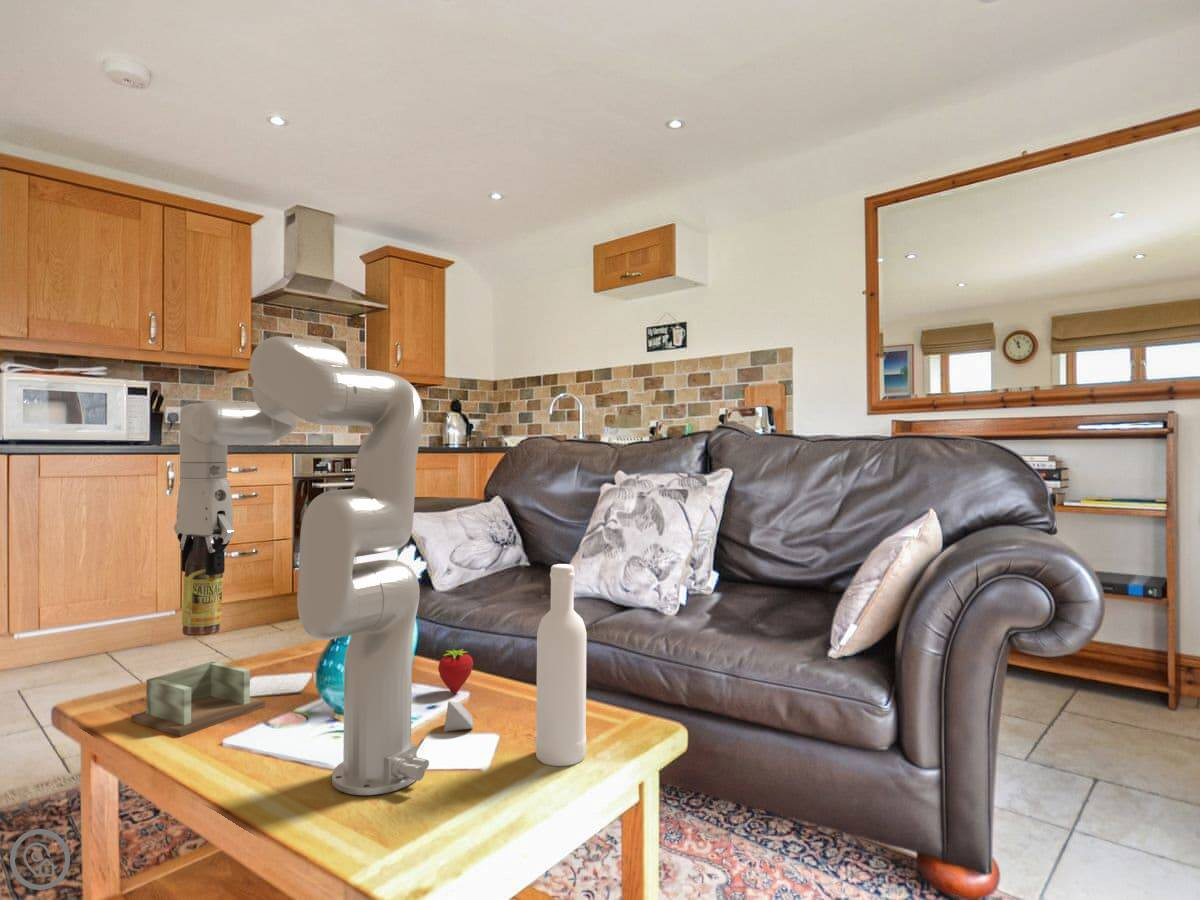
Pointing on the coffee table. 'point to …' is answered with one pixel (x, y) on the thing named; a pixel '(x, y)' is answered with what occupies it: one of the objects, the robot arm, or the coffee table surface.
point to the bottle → (561, 676)
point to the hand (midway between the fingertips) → (202, 571)
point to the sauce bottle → (201, 593)
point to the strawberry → (455, 669)
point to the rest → (197, 698)
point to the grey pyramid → (457, 717)
